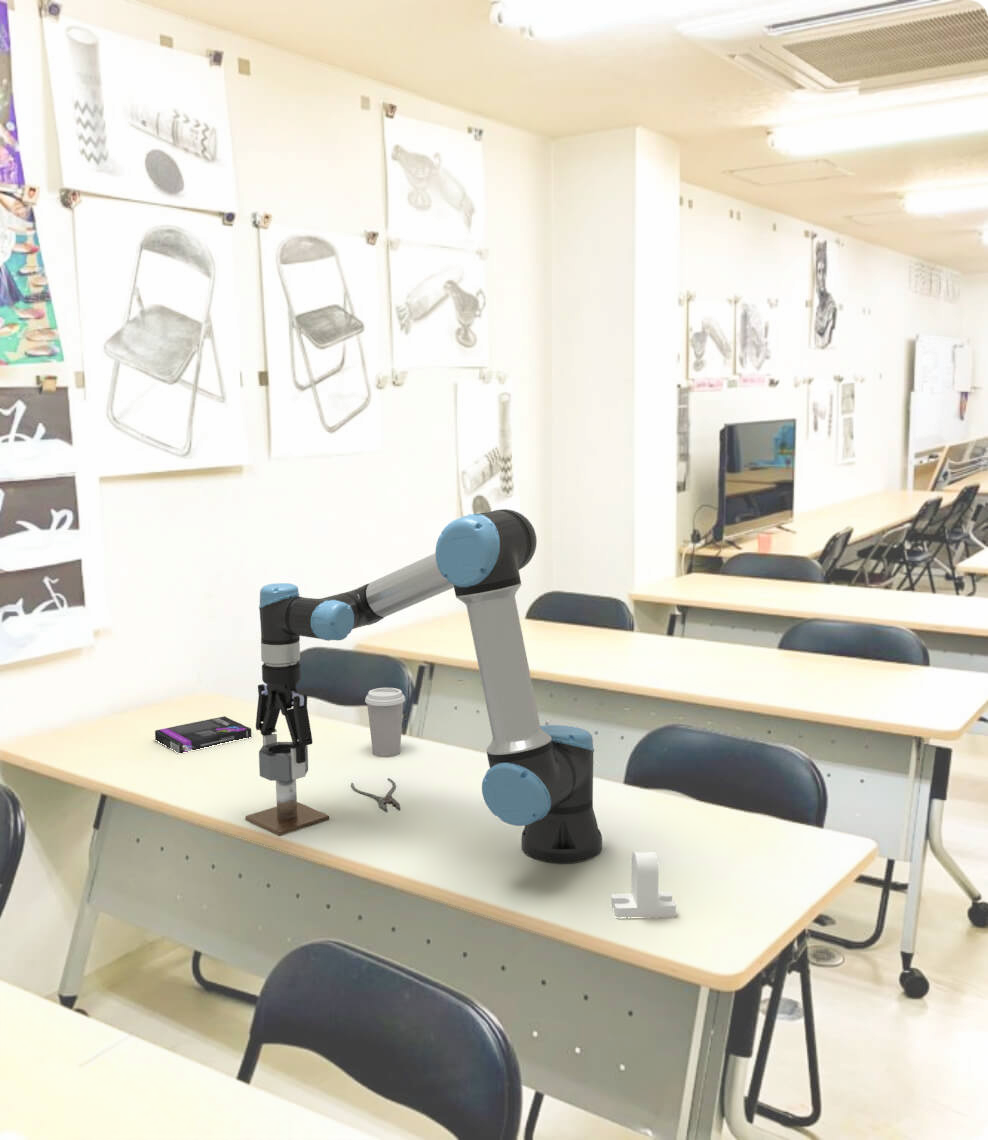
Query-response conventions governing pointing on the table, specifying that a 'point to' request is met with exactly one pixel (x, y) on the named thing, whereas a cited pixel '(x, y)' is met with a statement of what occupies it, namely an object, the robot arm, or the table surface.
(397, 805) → the pliers
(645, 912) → the white bearing bracket
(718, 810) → the table surface
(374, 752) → the coffee cup
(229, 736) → the box
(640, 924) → the table surface
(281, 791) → the piston post
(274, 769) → the ring
